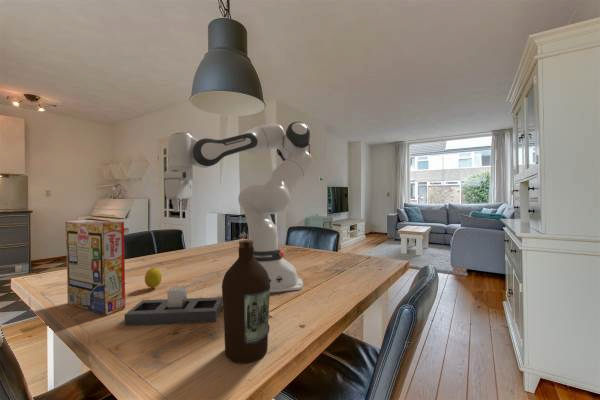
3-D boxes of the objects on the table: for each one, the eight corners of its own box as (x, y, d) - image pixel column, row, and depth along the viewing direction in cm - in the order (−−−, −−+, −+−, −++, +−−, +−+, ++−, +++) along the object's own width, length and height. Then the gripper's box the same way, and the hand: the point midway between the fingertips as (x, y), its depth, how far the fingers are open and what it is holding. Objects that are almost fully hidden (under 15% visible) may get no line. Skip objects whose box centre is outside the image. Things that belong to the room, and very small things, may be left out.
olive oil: (212, 352, 60) (212, 241, 60) (250, 333, 68) (249, 235, 68) (242, 372, 53) (241, 247, 53) (279, 349, 62) (279, 240, 61)
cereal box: (126, 308, 84) (125, 221, 83) (104, 316, 78) (103, 223, 77) (87, 297, 92) (86, 219, 91) (65, 304, 86) (63, 220, 86)
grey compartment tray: (222, 306, 85) (222, 297, 85) (215, 321, 75) (215, 311, 75) (142, 309, 82) (142, 300, 82) (124, 325, 73) (124, 314, 72)
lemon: (154, 291, 98) (154, 269, 97) (141, 290, 99) (141, 269, 99) (165, 286, 103) (164, 265, 103) (152, 285, 104) (152, 265, 104)
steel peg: (186, 312, 81) (186, 285, 81) (182, 318, 77) (182, 290, 77) (172, 312, 80) (172, 286, 80) (167, 319, 77) (167, 291, 76)
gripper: (181, 176, 114) (181, 209, 115) (161, 172, 94) (161, 212, 94) (196, 176, 115) (196, 209, 115) (180, 173, 95) (180, 212, 95)
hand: (180, 210), depth 105 cm, fingers open, 8 cm apart
